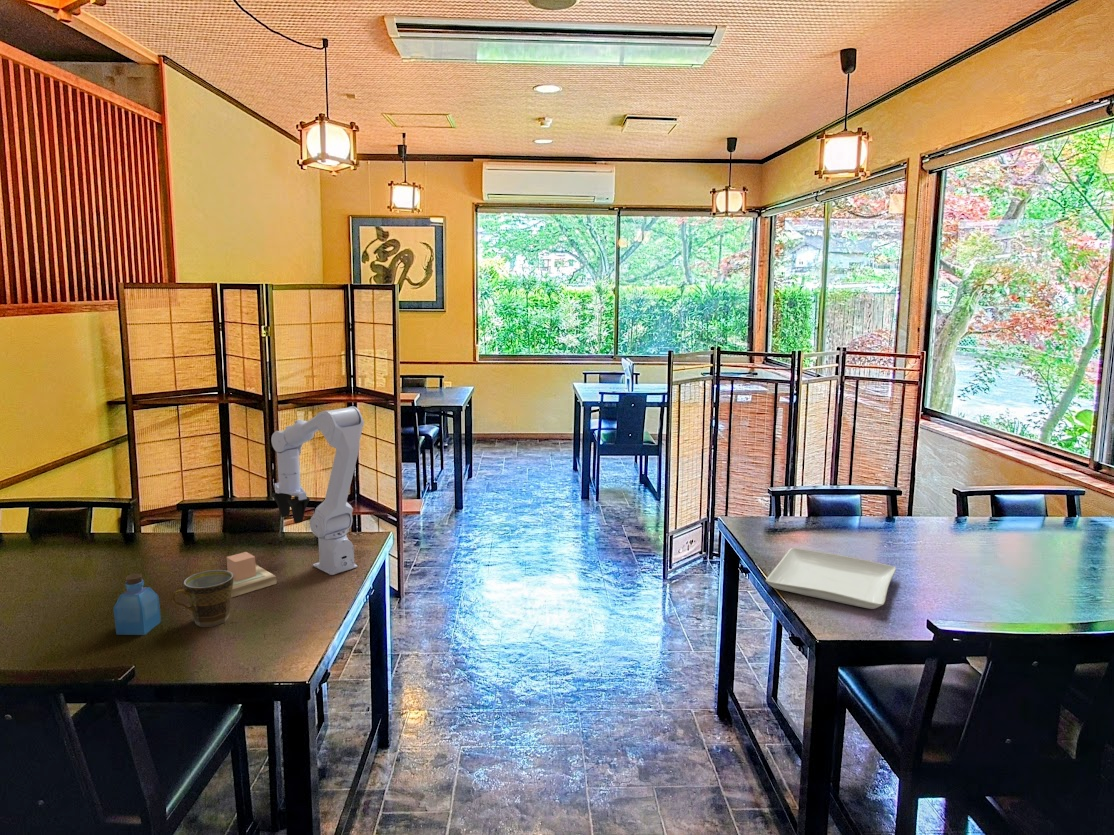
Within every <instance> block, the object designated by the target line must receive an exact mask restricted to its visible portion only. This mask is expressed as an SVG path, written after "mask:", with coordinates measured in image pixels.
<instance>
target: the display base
mask: <svg viewBox="0 0 1114 835" xmlns="http://www.w3.org/2000/svg"><path fill="white" fill-rule="evenodd" d="M277 582H278V581H277V575H275V574H273V573H272V572H269V571H267V569H264V568H263V567H261V566H259V565H258V564H256V576H254V577H250V578H247V579H243V580H240V581H235V580H234V579H233V588H232V594H231V599H232V598H235V597H237V596H241V595H245V594H247V593H251V592H254V591H258V590H261V589H263V588H266V587H270V586H273V585H276V584H277Z"/></svg>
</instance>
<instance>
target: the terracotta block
mask: <svg viewBox="0 0 1114 835" xmlns="http://www.w3.org/2000/svg"><path fill="white" fill-rule="evenodd" d="M256 565H257V563H256V556H255V555H253V554H251V553H249V551H248V552H247V551H244V552H240V553H236V554H232V555H229V556H228V555H227V556H226V567H227V570H226V571H229V572H231V573H232V574H233V579H234V580H235V581H240V580H243V579H247V578H250V577H254V576H256Z"/></svg>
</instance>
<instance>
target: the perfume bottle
mask: <svg viewBox="0 0 1114 835" xmlns="http://www.w3.org/2000/svg"><path fill="white" fill-rule="evenodd" d="M142 577H143V574H141V573H132V574H131V573H130V574H128V575H127V576H126V577H125V581H126V582H125V583H124V584H125V585H124V586H125V589H126V590H125V591H123V593H121V594H120V595H119V597H118V598H117V601H116V603H115V604H114V606H113V615H114V625H115V632H116V635H120V636H121V635H126V636H127V635H130V636H131V635H133V636H136V635H137V636H145V635H147V634H148V633H149V632H151V630H154V629H155V628H156V627H157V625H160V623H161V622H162V620H161V618H162V617H161V608H160V598H159V597H160V596H159V595H158V594H157V593H156V592H155V591H154V590H153V589H152V588H151V587H150V586H145V587H144V585H145V581H144V579H143V578H142Z"/></svg>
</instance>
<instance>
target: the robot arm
mask: <svg viewBox="0 0 1114 835" xmlns="http://www.w3.org/2000/svg"><path fill="white" fill-rule="evenodd" d="M293 423H294V424H292V425H287V426H286V427H285V429H284V430H275V431H274V432H273V433H272V435H271V439H270V440H271V446H272V448H273V450H274V451H275V452H276V459H277V460H276V462H277V463H276V464H277V477H278V478H277V479H278V482H275V483H274V492H272V493H271V496H272V498H273V499H274V501H275V503H276V505H277V507H278V512H279V514H280V516H281V518H285V517H289V516H290V513H291V512H292V518H293V522H294V524H299V523H303V521H304V518H305V513H306V509H307V506H308V504H309V502H310V499H311V498H310V497H308V496H307V492H306V491H305V490H304V488H303V487H302V485H301V483H302V482H301V467H300V465H301V464H300V455H301V454H302V447H303V445H304V444H305V443H307V442H310V441H311V440H312V439H313V438H314V436H315V433H317V432H318V431H319V432H320V433H321V434H322V435H323V437H324V438H325V440H326V442H327V443H328V445H329V446H330V447H332V448H333V449H335V454H334V459H333V462H332V468H331V471H330V477H329V480H328V485H327V488H326V494H325V497H324V500H323V501H322V502H321V503H320V504H319V505H317V506H316V508H315V509H314V512H313V514H312V515H311V517H310V519H309V527H310V530H311V532H312V533H313V535H314V536H315V537H316V538H318V539H317V540H318V544H317V545H318V558H319V559H318V560H319V561H317V562H315V563H313V564H312V566H313V567H314V568H316V569H318V570H320V571H322V572H324V573H326V574H328V575H329V576H333V575H337V574H339V573H343V572H346V571H349V570H352V569H355V568H358V565H357V564H356V563H355V554H354V553H355V550H354V544H353V542H352V541H351V540H349V538H348V535H347V534H348V533H349V529H350V528H351V527H352V525H353V512H354V508H353V507H352V505H351V504H350V503H349V502H348V497H349V493H350V489H351V484H352V480H353V476H354V472H355V469H356V464H357V460H358V456H359V452H360V447H361V446H360V445H361V444H360V440H361V437H362V432H363V428H364V425H365V421H364V418H363V416H362V414H361V411H360V409H358V408H357V407H356V406H348V407H345V408H343V407H342V408H338V409H337V408H336V409H330V410H322V411H319V412H317V413H316V415H315V416H313V417H312V418H310V419H309V420H302V419H297V420H295V421H294V422H293ZM292 497H293V498H292Z"/></svg>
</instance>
